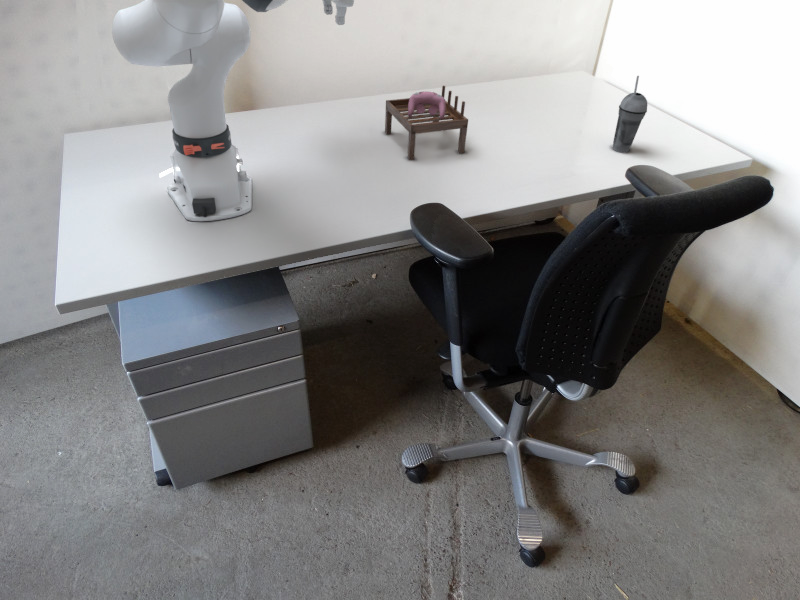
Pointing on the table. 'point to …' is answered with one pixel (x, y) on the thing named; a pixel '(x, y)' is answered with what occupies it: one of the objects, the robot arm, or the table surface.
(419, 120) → the rack
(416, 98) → the video game controller
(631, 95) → the beverage cup
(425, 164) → the table surface
